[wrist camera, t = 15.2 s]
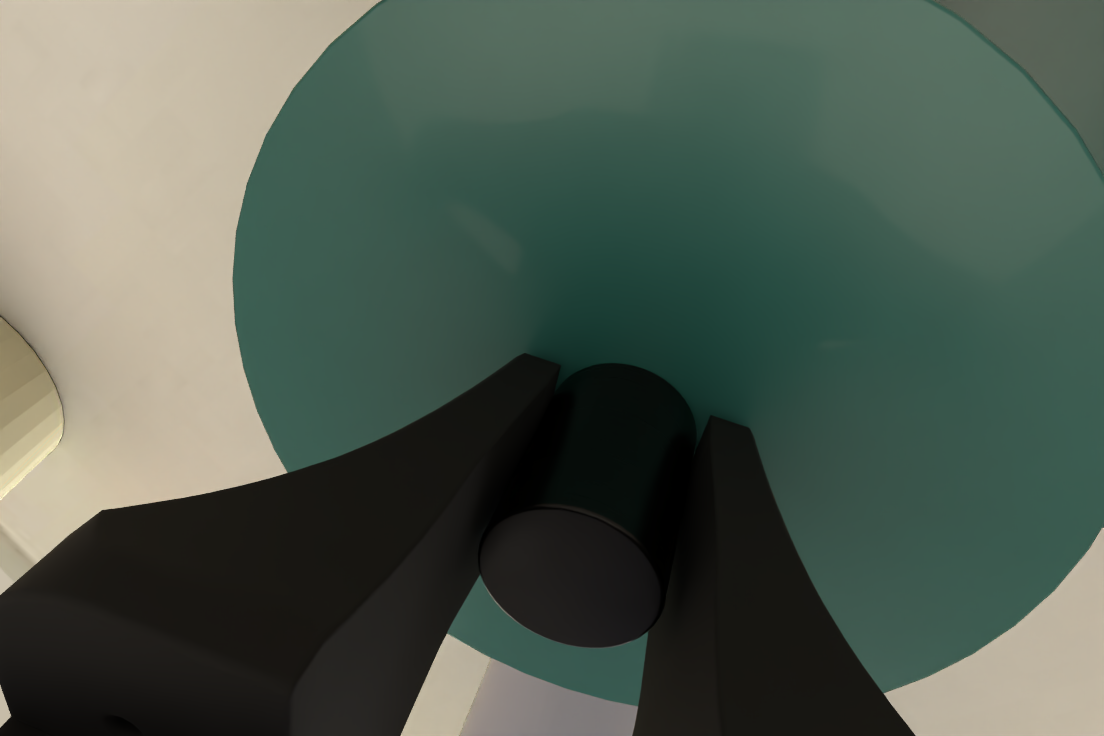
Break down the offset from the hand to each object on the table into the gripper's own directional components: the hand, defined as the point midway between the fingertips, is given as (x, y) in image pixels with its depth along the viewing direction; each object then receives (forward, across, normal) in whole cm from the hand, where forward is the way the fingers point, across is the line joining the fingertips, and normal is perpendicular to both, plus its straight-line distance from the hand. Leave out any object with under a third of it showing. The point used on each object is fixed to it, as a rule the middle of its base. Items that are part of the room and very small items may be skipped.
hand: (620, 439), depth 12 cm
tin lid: (+1, 0, 0) cm, 1 cm away
